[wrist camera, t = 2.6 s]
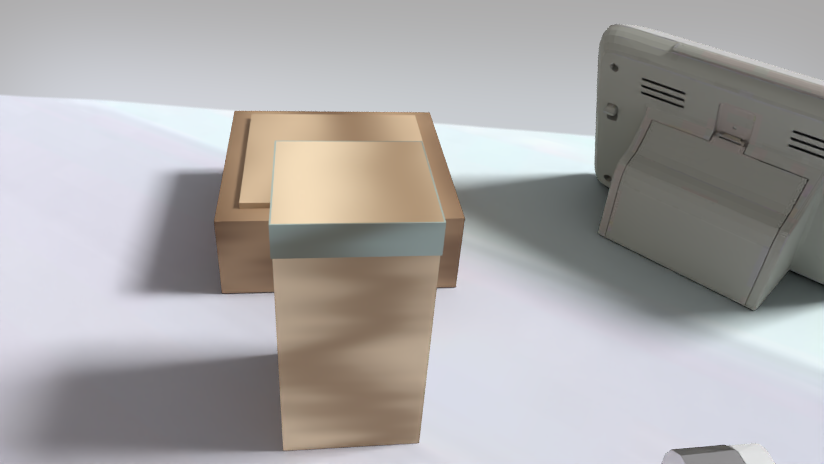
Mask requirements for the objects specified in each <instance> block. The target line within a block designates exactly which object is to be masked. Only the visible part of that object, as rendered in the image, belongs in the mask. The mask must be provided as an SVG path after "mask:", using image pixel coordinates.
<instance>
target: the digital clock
mask: <svg viewBox="0 0 824 464" xmlns="http://www.w3.org/2000/svg"><path fill="white" fill-rule="evenodd" d="M595 172H596V176H597V178H598V180H599V181H600V182H601V183H602V184H603V185H605V186H607V187H609V192H608V196H607V199H606V203H605V207H604V211H603V214H602V218H601V222H600V226H599V230H598V234H600V235H602V236H604V237H606V238H608V239H610V240H612V241H614V242H616V243H618V244H620V245H622V246H624V247H626V248H628V249H630V250H632V251H634V252H636V253H638V254H640V255H642V256H644V257H646V258H648V259H650V260H652V261H654V262H656V263H658V264H660V265H662V266H664V267H666V268H668V269H670V270H672V271H674V272H676V273H678V274H680V275H682V276H684V277H686V278H689V279H691V280H693V281H695V282H697V283H699V284H701V285H703V286H705V287H707V288H709V289H711V290H713V291H715V292H717V293H719V294H721V295H723V296H725V297H727V298H729V299H731V300H733V301H735V302H737V303H739V304H741V305H743V306H745V307H747V308H749V309H751V310H754V311H755V310H756V309H758V307H759V306H760V305H761V304H762V302H763V301H764V300H765V299H766V298H767V296H768V295H769V294H770V293H771V292H772V290H773V289H774V288H775V287H776V286H777V284H778V283H779V282H780V281H781V280H782V278H783V277H784V276H785V275H786V274H787V272H788V271H789V270H791V271H794V272H796V273H798V274H800V275H803V276H805V277H807V278H810V279H812V280H814V281H816V282H819V283H821V284H823V285H824V81H823V80H819V79H816V78H813V77H809V76H806V75H803V74H800V73H796V72H793V71H790V70H786V69H783V68H780V67H776V66H773V65H770V64H766V63H763V62H760V61H756V60H753V59H750V58H746V57H743V56H740V55H736V54H733V53H730V52H727V51H723V50H720V49H717V48H714V47H710V46H707V45H704V44H700V43H697V42H694V41H690V40H687V39H684V38H680V37H677V36H674V35H670V34H667V33H663V32H659V31H656V30H652V29H649V28H645V27H641V26H634V25H620V24H615V25H611V26H610V27H609V28H608V29H607V30H606V31H605V32H604V34H603V36H602V39H601V42H600V46H599V55H598V78H597V107H596V136H595Z"/></svg>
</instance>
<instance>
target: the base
mask: <svg viewBox="0 0 824 464" xmlns="http://www.w3.org/2000/svg"><path fill="white" fill-rule="evenodd" d="M275 141H423V145H424V148H425V152H426V155H427V159H428V162H429V165H430V169H431V172H432V176H433V179H434V182H435V186H436V189H437V193H438V196H439V200H440V203H441V206H442V210H443V213H444V217H445V220H446V229H445V237H444V246H443V254H442V255H441V256H440V263H439V272H438V281H437V287H456V281H457V273H458V266H459V258H460V251H461V243H462V236H463V228H464V221H465V217H464V214H463V211H462V208H461V205H460V202H459V199H458V196H457V193H456V190H455V187H454V184H453V181H452V178H451V175H450V172H449V169H448V166H447V163H446V160H445V157H444V154H443V151H442V148H441V145H440V142H439V139H438V136H437V133H436V130H435V127H434V124H433V121H432V118H431V115H430V113H424V112H418V113H417V112H309V111H308V112H305V111H235V112H234V117H233V122H232V128H231V133H230V138H229V144H228V149H227V155H226V160H225V165H224V171H223V176H222V181H221V187H220V192H219V197H218V203H217V208H216V213H215V219H214V226H215V235H216V244H217V253H218V262H219V271H220V280H221V289H222V293H252V292H274V278H273V261H272V259H271V258H270V241H269V212H270V199H271V185H272V171H273V158H274V144H275Z"/></svg>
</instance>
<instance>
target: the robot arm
mask: <svg viewBox="0 0 824 464" xmlns="http://www.w3.org/2000/svg"><path fill="white" fill-rule="evenodd" d="M661 464H775V462H774V461H773V459H772V458H771V456H770V455H769V453H768V452H767V450H766V449H765V448H764V447H762V446H761V445H760V444H754V443H751V444H741V445H730V446H726V445H717V446H706V447H695V448H683V449H672V450H670V451H669V452H667V453H666V454H665V456H664V458H663V461H662V463H661Z"/></svg>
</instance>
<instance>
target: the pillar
mask: <svg viewBox="0 0 824 464" xmlns="http://www.w3.org/2000/svg"><path fill="white" fill-rule="evenodd" d="M445 229H446V220H445V217H444V213H443V210H442V206H441V203H440V200H439V196H438V193H437V189H436V186H435V182H434V179H433V176H432V172H431V169H430V165H429V162H428V159H427V155H426V152H425V148H424V145H423V141H275V144H274V158H273V171H272V185H271V199H270V212H269V241H270V258H271V259H272V261H273V278H274V296H275V314H276V332H277V349H278V367H279V385H280V403H281V420H282V438H283V451H290V450H307V449H324V448H341V447H358V446H375V445H392V444H410V443H419V438H420V430H421V421H422V412H423V403H424V395H425V386H426V377H427V368H428V360H429V351H430V342H431V333H432V325H433V316H434V307H435V298H436V290H437V281H438V272H439V263H440V256H441V255H442V254H443V246H444V237H445Z"/></svg>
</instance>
